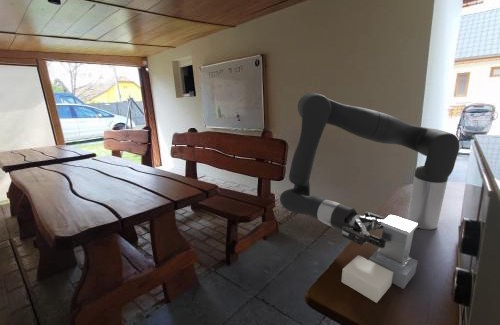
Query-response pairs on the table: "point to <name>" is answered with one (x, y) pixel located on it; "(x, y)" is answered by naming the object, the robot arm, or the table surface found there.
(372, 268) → the stand
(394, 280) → the stand
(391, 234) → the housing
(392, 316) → the table surface
